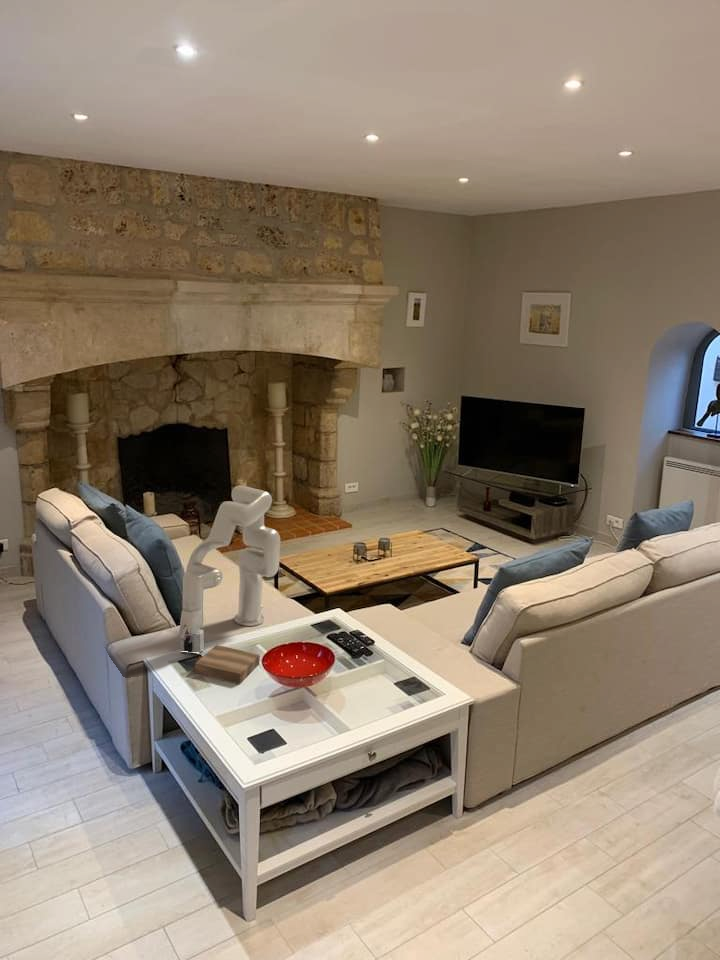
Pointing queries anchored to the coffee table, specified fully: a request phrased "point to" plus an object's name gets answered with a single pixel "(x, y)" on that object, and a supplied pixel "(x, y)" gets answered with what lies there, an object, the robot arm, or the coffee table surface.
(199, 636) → the medicine box
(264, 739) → the coffee table surface
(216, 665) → the wooden block
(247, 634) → the coffee table surface
